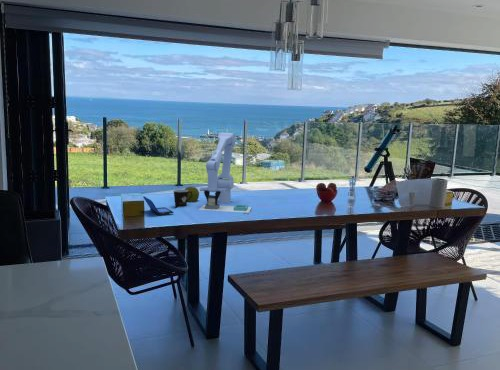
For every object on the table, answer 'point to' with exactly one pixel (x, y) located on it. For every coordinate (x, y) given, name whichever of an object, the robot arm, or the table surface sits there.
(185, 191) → the coffee mug
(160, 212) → the handheld game console
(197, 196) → the apple
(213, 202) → the plug
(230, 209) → the panel
